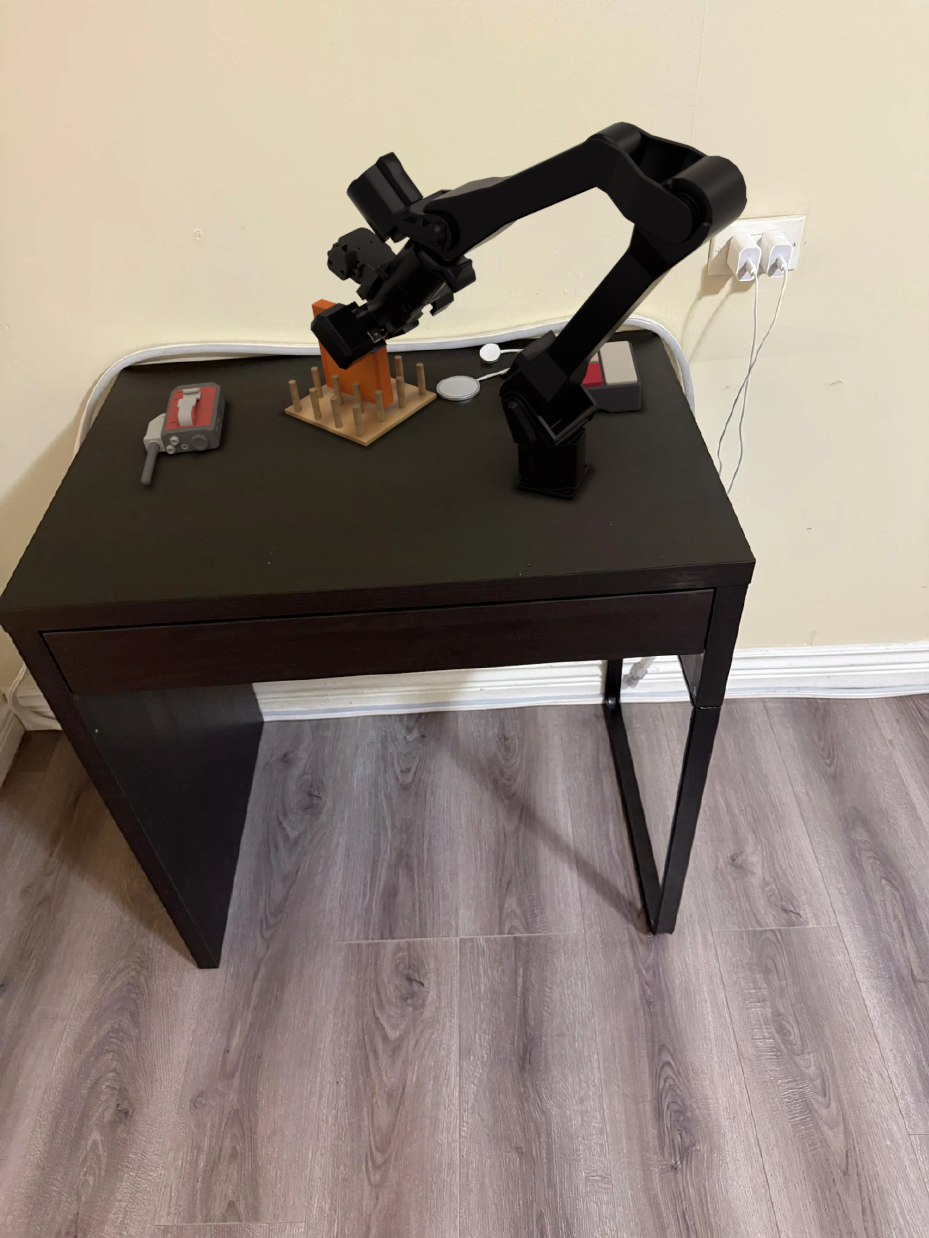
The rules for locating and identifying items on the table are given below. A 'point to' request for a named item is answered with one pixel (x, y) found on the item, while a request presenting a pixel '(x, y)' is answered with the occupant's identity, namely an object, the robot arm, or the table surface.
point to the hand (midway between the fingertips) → (355, 346)
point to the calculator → (614, 378)
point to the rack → (359, 406)
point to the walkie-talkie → (186, 423)
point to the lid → (358, 369)
